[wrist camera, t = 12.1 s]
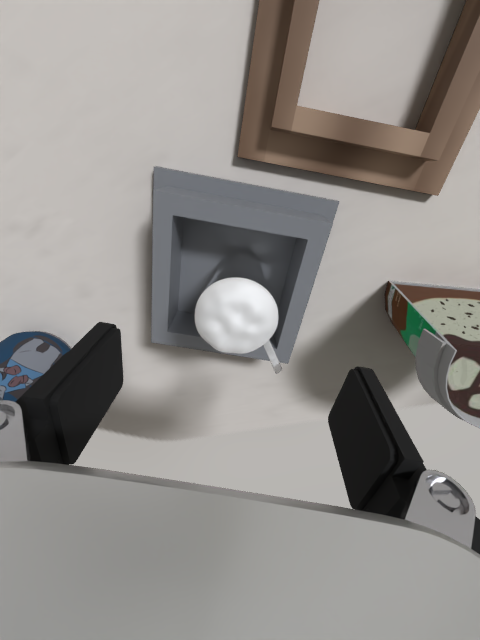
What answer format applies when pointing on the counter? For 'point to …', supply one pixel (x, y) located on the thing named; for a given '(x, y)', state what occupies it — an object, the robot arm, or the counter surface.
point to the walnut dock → (348, 132)
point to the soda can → (27, 361)
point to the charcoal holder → (232, 250)
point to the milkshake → (238, 308)
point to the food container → (441, 341)
